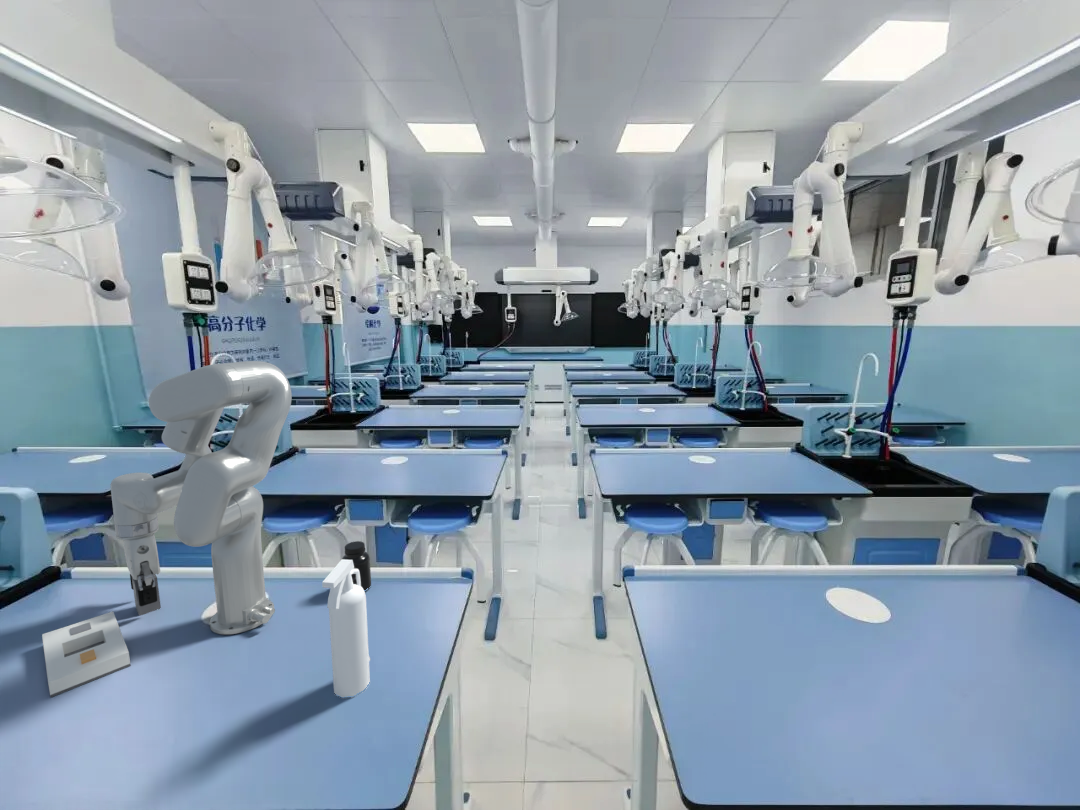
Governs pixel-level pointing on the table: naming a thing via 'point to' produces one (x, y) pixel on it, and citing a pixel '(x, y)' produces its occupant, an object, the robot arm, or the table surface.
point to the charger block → (149, 607)
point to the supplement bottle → (359, 562)
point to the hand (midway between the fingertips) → (144, 595)
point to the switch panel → (84, 653)
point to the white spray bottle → (348, 630)
